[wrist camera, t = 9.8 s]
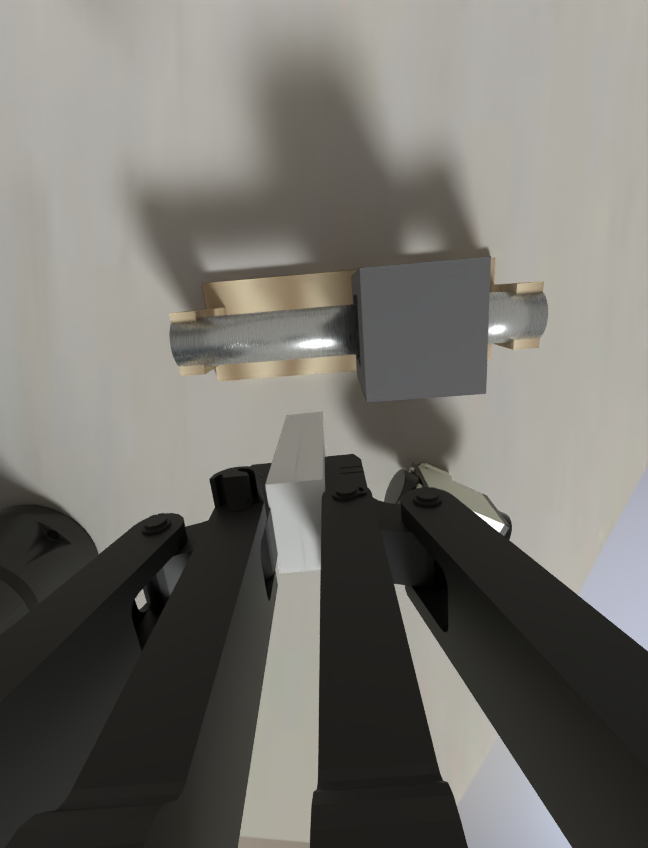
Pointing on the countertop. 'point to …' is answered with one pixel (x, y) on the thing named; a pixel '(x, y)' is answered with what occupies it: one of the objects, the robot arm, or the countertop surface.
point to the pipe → (324, 331)
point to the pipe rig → (297, 296)
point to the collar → (423, 328)
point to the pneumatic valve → (442, 480)
